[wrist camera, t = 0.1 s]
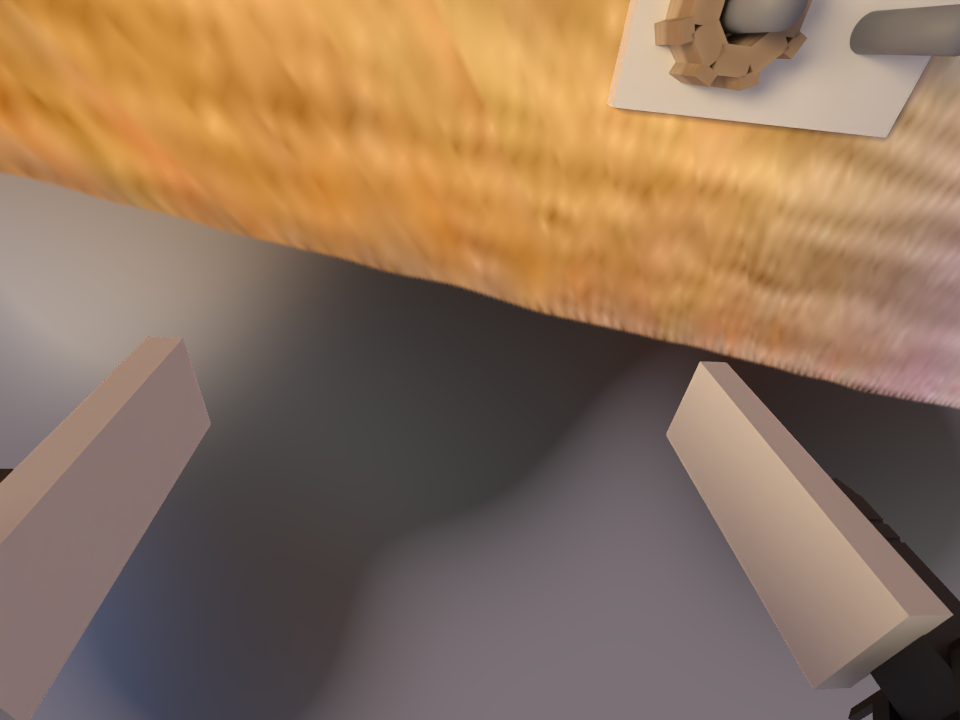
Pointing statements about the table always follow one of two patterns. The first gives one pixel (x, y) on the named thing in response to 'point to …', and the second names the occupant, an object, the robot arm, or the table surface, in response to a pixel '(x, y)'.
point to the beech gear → (720, 46)
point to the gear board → (798, 63)
